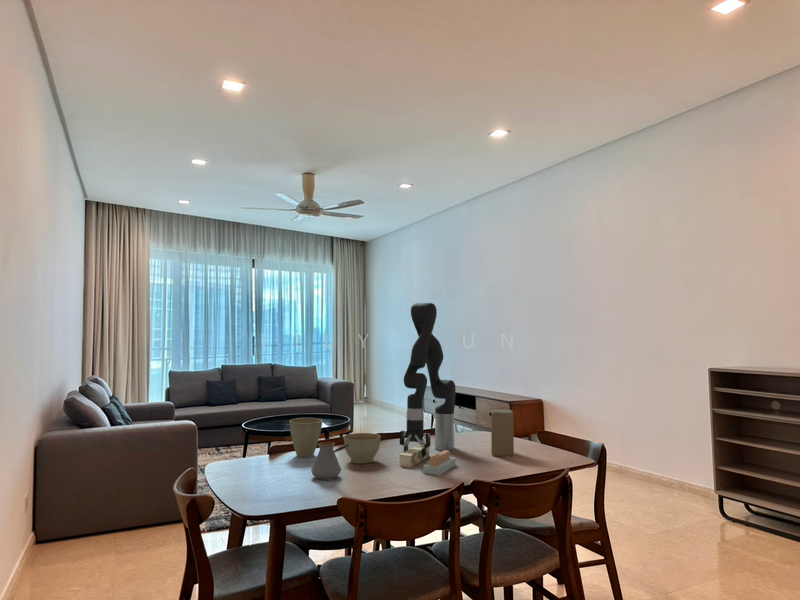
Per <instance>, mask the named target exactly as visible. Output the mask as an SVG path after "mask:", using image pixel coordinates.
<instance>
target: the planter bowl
mask: <svg viewBox="0 0 800 600" xmlns="http://www.w3.org/2000/svg"><path fill="white" fill-rule="evenodd" d="M343 443H344V445H349V446H348V447H346V449H345V451H346V454H347V455H348V457H349V458H350V462H351V463H353V464H360V465H361V464H369V463H373V462H374V458H375V457H376V455H377V453H378V451H379V448H380V444H381V435H380V434H378V433H371V432H357V433H356V432H355V433H350V434H346V435H344V436H343ZM344 445H343V446H344ZM350 447H351V448H350ZM349 449H350V450H349Z"/></svg>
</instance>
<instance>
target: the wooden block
mask: <svg viewBox="0 0 800 600" xmlns="http://www.w3.org/2000/svg"><path fill="white" fill-rule="evenodd" d="M490 419H491V420H490V422H491V423H490V424H491V425H490V427H491V428H490V429H491V430H490V432H491V434H490V435H491V436H490V438H491V440H490V441H491V445H490V446H491V449H490V450H491V455H492V456H493V457H506V456H511V457H510V458H512V457H514V455H515V453H514V451H515V449H514V448H515V447H514V446H515V444H514V439H515V438H514V437H515V435H514V434H515V433H514V430H515V429H514V412H513V410H512V409H495V408H494V409H492V410H491V411H490Z"/></svg>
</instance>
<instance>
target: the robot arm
mask: <svg viewBox="0 0 800 600" xmlns="http://www.w3.org/2000/svg"><path fill="white" fill-rule="evenodd" d="M437 310H438V309H437V307H436V305H435V303H432V302H415V303H413V304H412V305H411V306H410V316H411V320H412V323H413V326H414V328H415V331H416V332H417V336H418V337H417V339H416V340H415V342H414V344H413V345H412V348H411V353H410V360H409V363H408V366H407V369H406V371H405V373H404V377H403V384H404V385H403V386H404V387H406V389H413V390H415V392H414V393H410V394H408V396H407V398H406V399H407V408H406V430H400V431H399V445H401V446H403V453H404V452H406V451H408V450H409V444H410V443H411V442H412V443H413V442H415V443H418V445H421V447H422V457H425V456H426V448H428V447H429V448H430V447H431V433H430V432H428V433H426V432H424V428H425V427H424V422H425V421H424V420H425V419H424V418H425V417H424V415H425V413H424V397H425V393H426V390H427V384H428V378H427V376H426V375H425V374H424V373H422V372H421V373H420V372H418V371H419V370H421V369H424V368H425V366H426V368H427V373H428V377H429V382H430V388H431V389H430V390H431V393H432V396H433V397H434V398H435V399H441V400H442V399H443V400H444V403H443V404H440V405H437V406H435V409H434V420H435V421H434V430H435V431H434V433H435V434H434V449H435V450H438V451H444V450H448V451H453V450H455V407H456V390H457V389H456V384H455V382H454V381H453V380H451V379H440V375H439V374H440V373H439V371H440V368H441V366H442V365H443V364H442V363H443V360H444V352H443V347H442V345H441V343H440V341H439V340H438V339H437V337H436V336H435V335H434V334H433V330H434V326H435V324H436V319H437ZM405 436H407V438H405ZM423 437H424V438H423ZM424 439H425V440H424Z"/></svg>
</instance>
